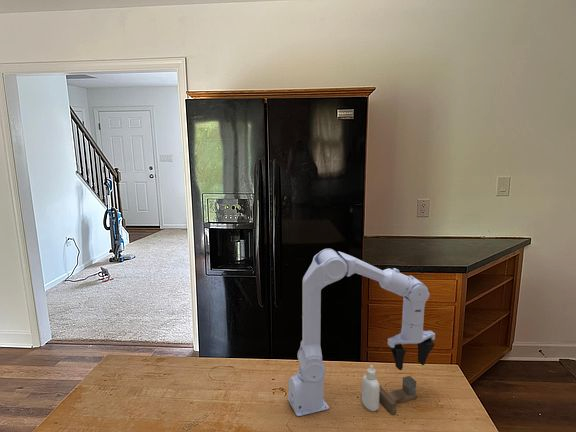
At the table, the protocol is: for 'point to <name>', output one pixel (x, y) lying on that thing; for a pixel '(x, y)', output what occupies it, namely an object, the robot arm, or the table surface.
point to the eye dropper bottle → (370, 390)
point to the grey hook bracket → (398, 394)
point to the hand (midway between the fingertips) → (410, 365)
